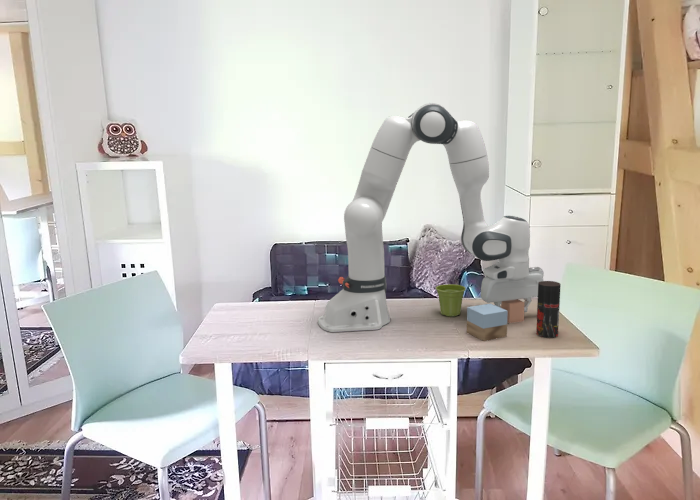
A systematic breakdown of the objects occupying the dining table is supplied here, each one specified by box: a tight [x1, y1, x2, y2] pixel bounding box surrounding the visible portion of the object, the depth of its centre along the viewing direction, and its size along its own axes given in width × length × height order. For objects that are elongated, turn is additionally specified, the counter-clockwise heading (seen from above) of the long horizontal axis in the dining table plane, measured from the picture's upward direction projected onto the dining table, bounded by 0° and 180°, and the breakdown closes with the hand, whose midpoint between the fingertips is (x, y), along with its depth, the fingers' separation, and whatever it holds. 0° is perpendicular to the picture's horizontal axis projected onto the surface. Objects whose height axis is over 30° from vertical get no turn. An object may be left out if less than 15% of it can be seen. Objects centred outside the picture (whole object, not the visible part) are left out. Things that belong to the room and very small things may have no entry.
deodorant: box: [535, 280, 561, 339], centre depth 166 cm, size 6×6×15 cm
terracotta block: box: [500, 299, 525, 324], centre depth 180 cm, size 5×5×6 cm
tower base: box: [466, 320, 508, 342], centre depth 168 cm, size 8×8×4 cm
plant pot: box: [435, 283, 467, 317], centre depth 187 cm, size 9×9×9 cm
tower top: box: [466, 303, 508, 329], centre depth 167 cm, size 8×8×4 cm
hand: (512, 313), depth 180 cm, fingers open, 7 cm apart
